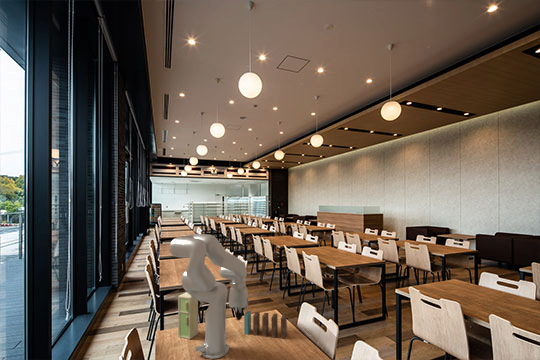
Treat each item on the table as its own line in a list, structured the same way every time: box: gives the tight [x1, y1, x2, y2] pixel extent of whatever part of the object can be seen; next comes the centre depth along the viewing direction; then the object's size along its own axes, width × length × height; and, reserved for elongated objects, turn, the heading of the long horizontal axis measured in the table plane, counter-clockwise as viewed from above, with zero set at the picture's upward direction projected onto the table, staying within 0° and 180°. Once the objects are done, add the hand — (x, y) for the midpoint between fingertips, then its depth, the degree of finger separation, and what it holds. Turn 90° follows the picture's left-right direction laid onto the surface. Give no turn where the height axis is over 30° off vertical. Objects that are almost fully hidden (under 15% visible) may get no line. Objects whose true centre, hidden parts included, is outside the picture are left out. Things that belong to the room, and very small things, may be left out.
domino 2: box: [252, 311, 261, 337], centre depth 143 cm, size 2×5×10 cm, turn 165°
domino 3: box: [261, 312, 270, 338], centre depth 142 cm, size 2×5×10 cm, turn 165°
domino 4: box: [270, 313, 279, 339], centre depth 140 cm, size 2×5×10 cm, turn 165°
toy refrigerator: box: [177, 291, 199, 340], centre depth 142 cm, size 8×7×21 cm
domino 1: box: [243, 310, 252, 336], centre depth 144 cm, size 2×5×10 cm, turn 165°
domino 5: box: [280, 314, 288, 340], centre depth 139 cm, size 2×5×10 cm, turn 165°
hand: (239, 319), depth 146 cm, fingers closed
